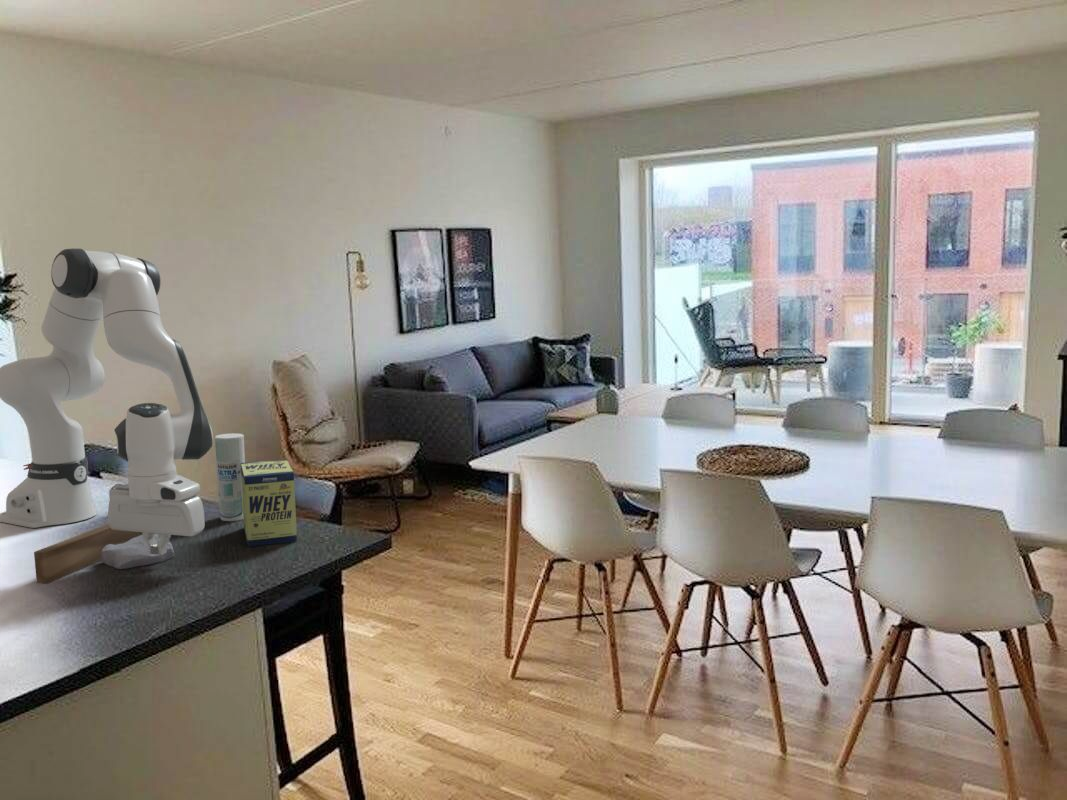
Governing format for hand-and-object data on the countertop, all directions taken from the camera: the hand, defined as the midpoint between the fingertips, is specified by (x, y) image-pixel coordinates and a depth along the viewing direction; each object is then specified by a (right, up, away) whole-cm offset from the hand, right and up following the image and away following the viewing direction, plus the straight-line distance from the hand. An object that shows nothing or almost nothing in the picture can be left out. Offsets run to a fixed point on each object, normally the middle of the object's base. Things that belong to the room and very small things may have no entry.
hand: (157, 553), depth 172 cm
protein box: (+16, 0, +21) cm, 26 cm away
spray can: (+3, +2, +34) cm, 35 cm away
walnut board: (-14, -2, +4) cm, 15 cm away
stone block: (-5, -2, +4) cm, 7 cm away
